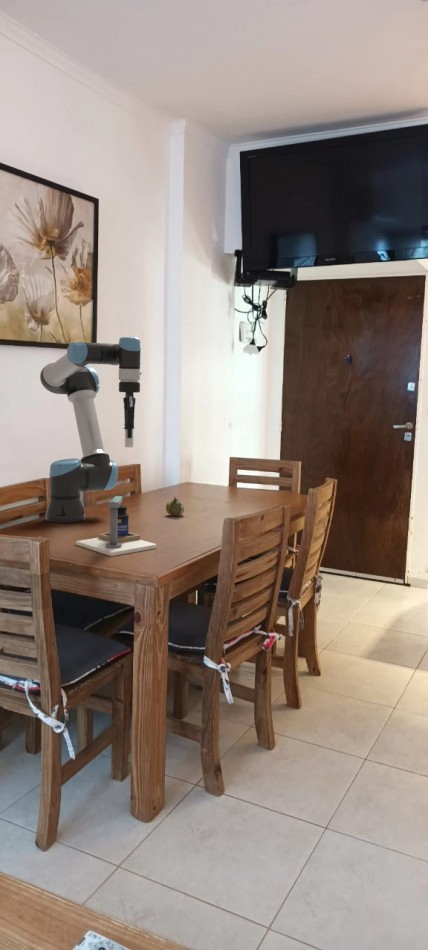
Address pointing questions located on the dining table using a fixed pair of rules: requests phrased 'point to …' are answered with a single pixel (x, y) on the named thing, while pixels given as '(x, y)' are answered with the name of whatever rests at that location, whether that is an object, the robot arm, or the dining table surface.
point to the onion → (175, 507)
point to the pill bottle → (122, 522)
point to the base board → (116, 551)
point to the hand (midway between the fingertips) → (129, 447)
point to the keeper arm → (115, 502)
